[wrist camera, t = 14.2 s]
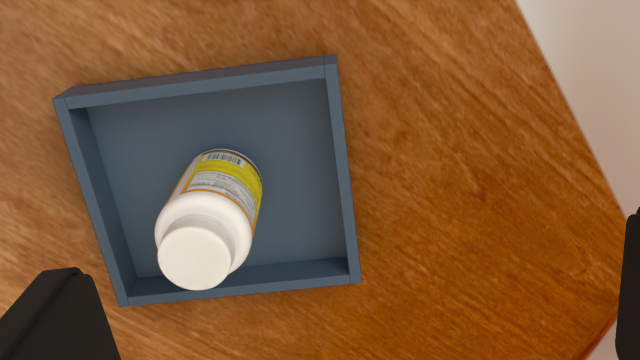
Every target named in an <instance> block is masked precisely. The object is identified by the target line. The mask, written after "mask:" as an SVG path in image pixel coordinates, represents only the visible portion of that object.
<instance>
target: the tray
mask: <svg viewBox="0 0 640 360" xmlns="http://www.w3.org/2000/svg"><path fill="white" fill-rule="evenodd" d="M52 101H53V104H54V108H55V111H56V114H57V117H58V120H59V123H60V126H61V129H62V132H63V135H64V138H65V141H66V144H67V147H68V151H69V154H70V157H71V160H72V163H73V166H74V169H75V172H76V175H77V178H78V181H79V184H80V187H81V190H82V193H83V197H84V200H85V203H86V206H87V209H88V212H89V215H90V218H91V221H92V224H93V227H94V230H95V233H96V236H97V239H98V243H99V246H100V249H101V252H102V255H103V258H104V261H105V264H106V267H107V270H108V273H109V276H110V279H111V282H112V286H113V289H114V292H115V295H116V298H117V301H118V304H119V307H128V306H139V305H148V304H158V303H168V302H178V301H188V300H198V299H208V298H218V297H228V296H238V295H248V294H257V293H267V292H277V291H287V290H297V289H307V288H317V287H327V286H337V285H347V284H356V283H362V278H361V269H360V259H359V251H358V242H357V233H356V224H355V216H354V207H353V198H352V189H351V180H350V172H349V163H348V154H347V145H346V137H345V128H344V119H343V110H342V101H341V93H340V84H339V75H338V66H337V58H336V54H331V55H323V56H315V57H307V58H299V59H291V60H283V61H275V62H267V63H259V64H251V65H243V66H235V67H227V68H219V69H211V70H203V71H195V72H187V73H179V74H171V75H163V76H155V77H147V78H139V79H131V80H123V81H115V82H107V83H99V84H91V85H83V86H75V87H71V88H69V89H68V90H66V91H64V92H63V93H61V94H59V95H58V96H56V97H54V98H53V99H52ZM213 149H229V150H233V151H236V152H239V153H241V154H243V155H244V156H246V157H247V158H248V159H250V160H251V161H252V162H253V163H254V165H255V166H256V167H257V169H258V171H259V173H260V175H261V178H262V182H263V195H262V200H261V204H260V209H259V213H258V217H257V222H256V227H255V231H254V235H253V239H252V244H251V247H250V250H249V253H248V255H247V257H246V259H245V260H244V262H243V263H242V264H241V265H240V266H239V267H238V268H237V269H236V270H235V271H233V272H231V273H230V274H228V275H227V276H226V278H225V279H224V280H223V281H222V282H221V283H220V284H218V285H217V286H215V287H213V288H210V289H206V290H189V289H185V288H182V287H179V286H177V285H176V284H174V283H173V282H171V281H170V280H169V279H168V278H167V277H166V276H165V275H164V274H163V272H162V271H161V269H160V266H159V263H158V256H157V254H158V248H157V245H156V242H155V225H156V222H157V219H158V216H159V214H160V212H161V210H162V209H163V207H164V205H165V204H166V202H167V200H168V199H169V197H170V195H171V194H172V192H173V190H174V189H175V187H176V185H177V184H178V182H179V180H180V179H181V177H182V175H183V173H184V172H185V170H186V168H187V167H188V165H189V164H190V163H191V161H192V160H193V159H194V158H196V157H197V156H198V155H200V154H202V153H204V152H206V151H209V150H213Z"/></svg>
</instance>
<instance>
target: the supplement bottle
mask: <svg viewBox="0 0 640 360" xmlns="http://www.w3.org/2000/svg"><path fill="white" fill-rule="evenodd" d="M262 195H263V182H262V178H261V175H260V173H259V171H258V169H257V167H256V166H255V165H254V163H253V162H252V161H251V160H250V159H248V158H247V157H246V156H244V155H243V154H241V153H239V152H236V151H233V150H229V149H213V150H209V151H206V152H204V153H202V154H200V155H198V156H197V157H196V158H194V159H193V160H192V161H191V163H190V164H189V165H188V167H187V168H186V170H185V172H184V173H183V175H182V177H181V179H180V180H179V182H178V184H177V185H176V187H175V189H174V190H173V192H172V194H171V195H170V197H169V199H168V200H167V202H166V204H165V205H164V207H163V209H162V210H161V212H160V214H159V216H158V219H157V222H156V225H155V242H156V245H157V248H158V254H157V256H158V263H159V266H160V269H161V271H162V272H163V274H164V275H165V276H166V277H167V278H168V279H169V280H170V281H171V282H173V283H174V284H176V285H177V286H179V287H182V288H185V289H189V290H206V289H210V288H213V287H215V286H217V285H218V284H220V283H221V282H222V281H223V280H224V279H225V278H226V276H227V275H228V274H230V273H231V272H233V271H235V270H236V269H237V268H238V267H239V266H240V265H241V264H242V263H243V262H244V260H245V259H246V257H247V255H248V253H249V250H250V247H251V244H252V239H253V235H254V231H255V227H256V222H257V217H258V213H259V209H260V204H261V200H262Z"/></svg>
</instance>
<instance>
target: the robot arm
mask: <svg viewBox="0 0 640 360" xmlns="http://www.w3.org/2000/svg"><path fill="white" fill-rule="evenodd" d="M615 347H616V352H617V356H618V358H619V360H640V207H639V209H638V210H637V213H636V214H633V215H631V216H629V217H628V219H627V223H626V232H625V243H624V254H623V264H622V275H621V285H620V296H619V307H618V317H617V328H616V339H615ZM0 360H121V358H120V355H119V352H118V349H117V346H116V344H115V341H114V338H113V335H112V332H111V329H110V326H109V323H108V321H107V318H106V315H105V312H104V309H103V306H102V303H101V301H100V298H99V295H98V292H97V289H96V286H95V283H94V281H93V279H92V277H91V276H90V275H88V274H83V272H82V271H81V270H80V269H79V268H77V267H72V268H63V269H54V270H46V271H42V272H41V273H40V274H39V275H38V276H37V277H36V278H35V279H34V281H33V282H32V283H31V284H30V285H29V286H28V288H27V289H26V290H25V291H24V292H23V293H22V294H21V296H20V297H19V298H18V299H17V300H16V301H15V303H14V304H13V305H12V306H11V307H10V308H9V310H8V311H7V312H6V313H5V314H4V315H3V317H2V318H1V319H0Z"/></svg>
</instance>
